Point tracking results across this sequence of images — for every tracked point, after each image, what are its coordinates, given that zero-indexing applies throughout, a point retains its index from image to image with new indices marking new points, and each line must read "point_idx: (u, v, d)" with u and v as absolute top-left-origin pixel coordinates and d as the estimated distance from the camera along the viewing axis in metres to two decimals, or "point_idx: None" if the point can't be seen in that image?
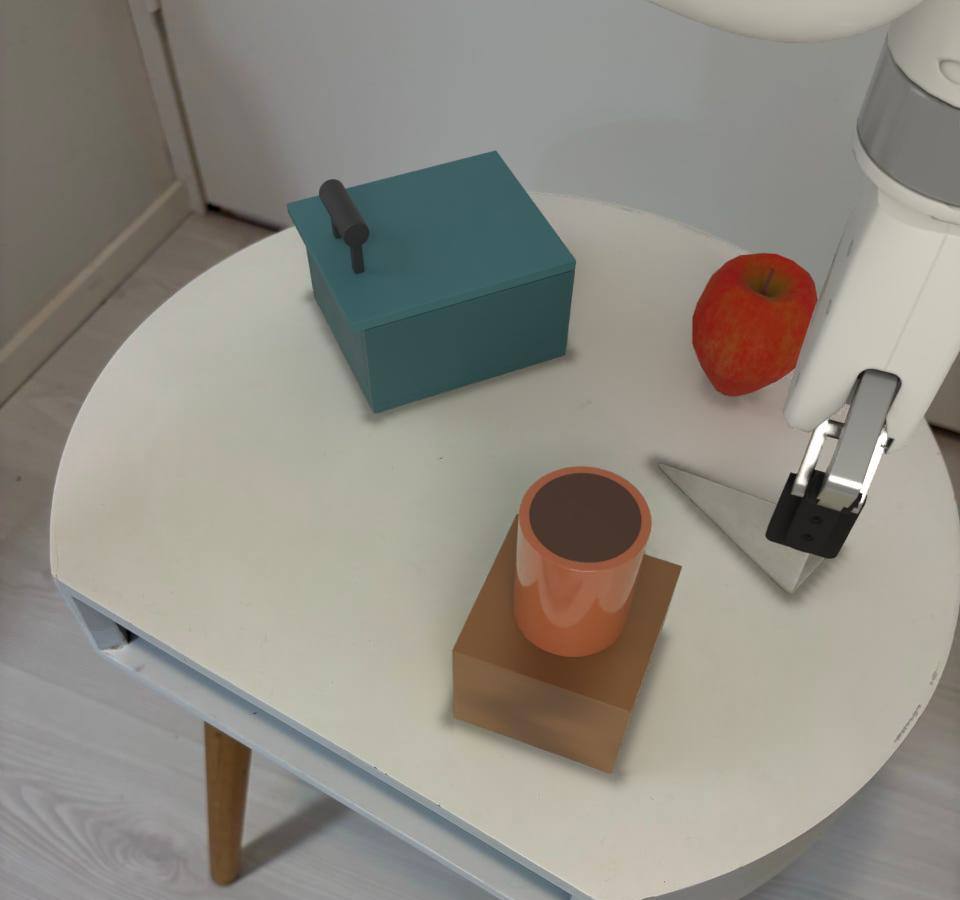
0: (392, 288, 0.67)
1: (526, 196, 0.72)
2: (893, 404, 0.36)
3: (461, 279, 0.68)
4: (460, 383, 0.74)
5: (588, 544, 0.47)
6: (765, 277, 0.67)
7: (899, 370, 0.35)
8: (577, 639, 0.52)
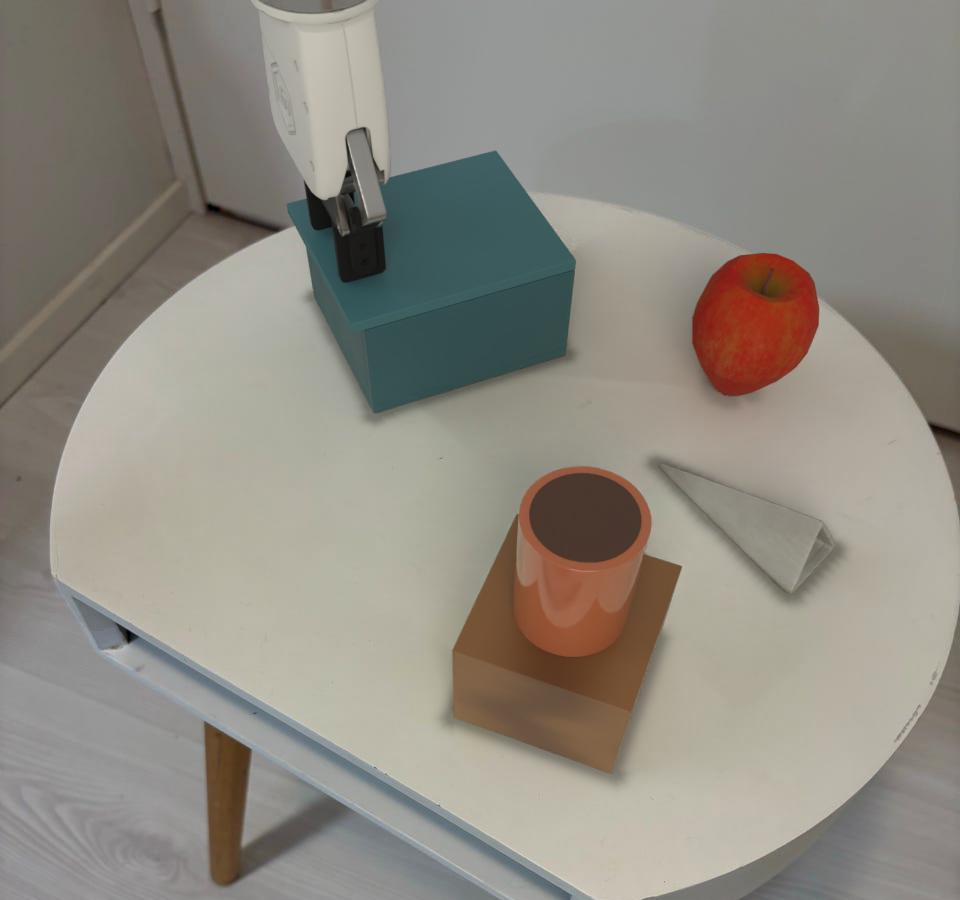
0: (392, 288, 0.67)
1: (526, 196, 0.72)
2: (372, 147, 0.58)
3: (461, 279, 0.68)
4: (460, 383, 0.74)
5: (588, 544, 0.47)
6: (765, 277, 0.67)
7: (364, 123, 0.56)
8: (577, 639, 0.52)
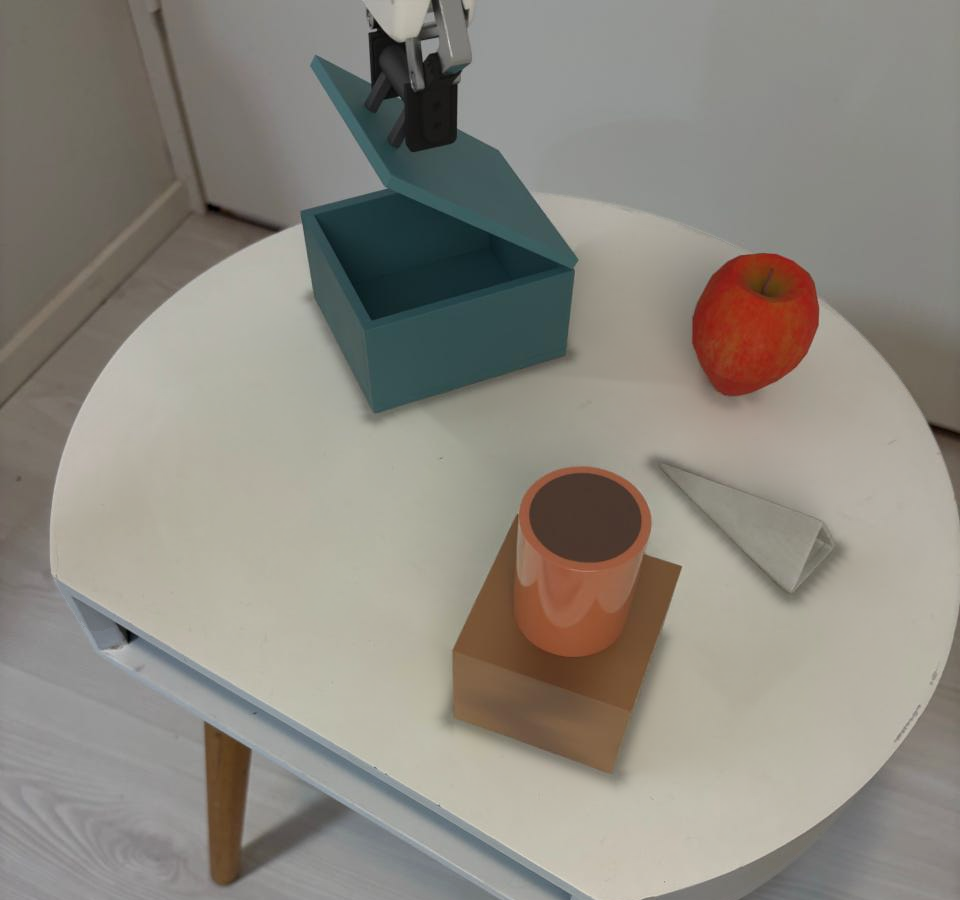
0: (426, 176, 0.61)
1: (530, 194, 0.72)
2: None
3: (487, 210, 0.64)
4: (460, 383, 0.74)
5: (588, 544, 0.47)
6: (765, 277, 0.67)
7: None
8: (577, 639, 0.52)
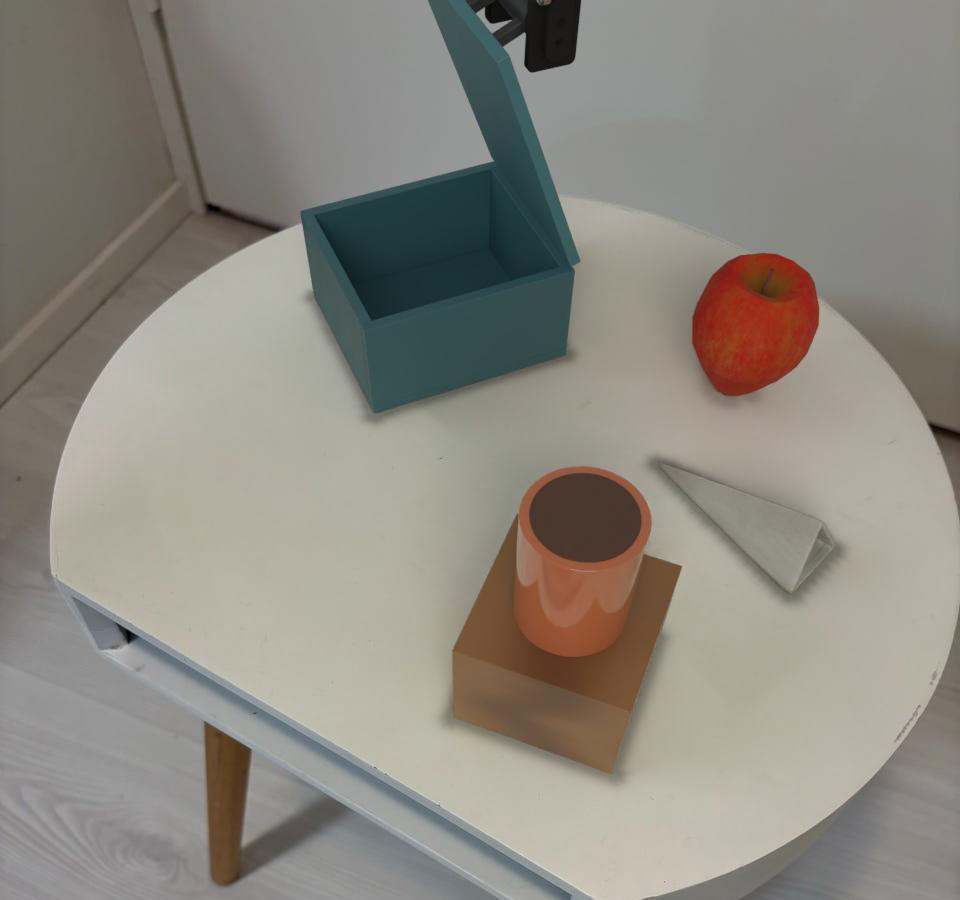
0: None
1: None
2: None
3: None
4: (460, 383, 0.74)
5: (588, 544, 0.47)
6: (765, 277, 0.67)
7: None
8: (577, 639, 0.52)
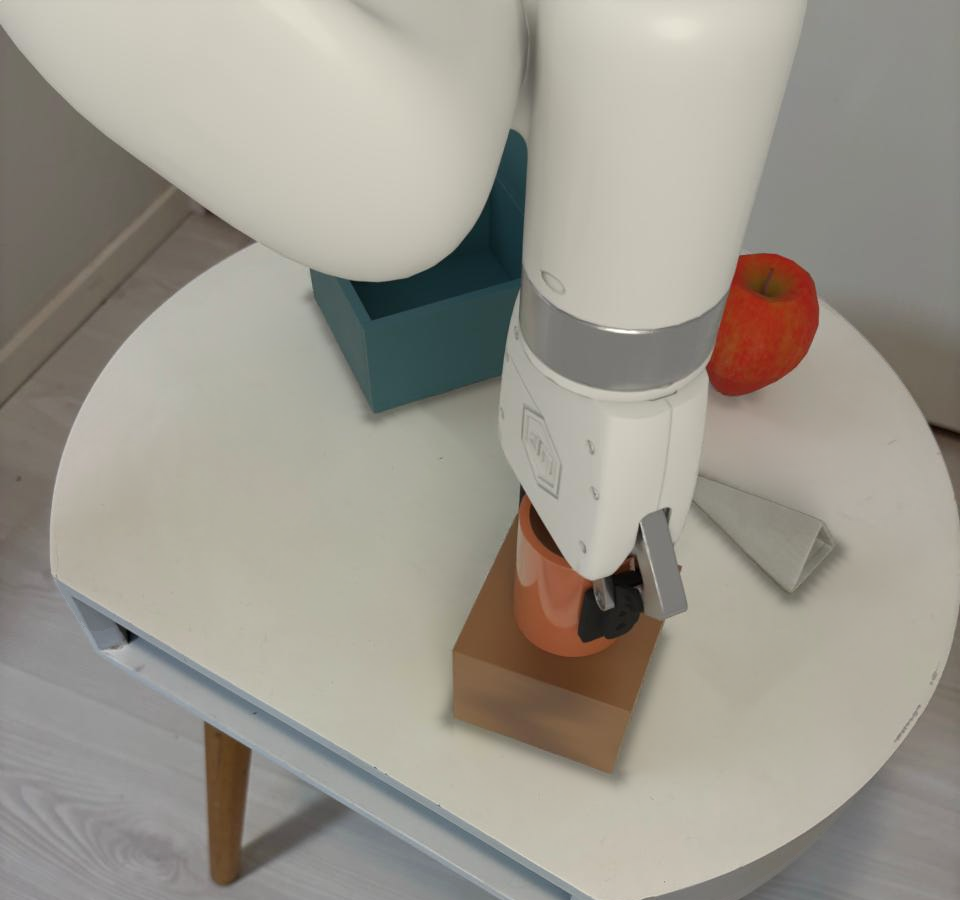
0: None
1: None
2: (669, 524, 0.42)
3: None
4: (460, 383, 0.74)
5: None
6: (765, 277, 0.67)
7: (667, 503, 0.40)
8: (577, 639, 0.52)
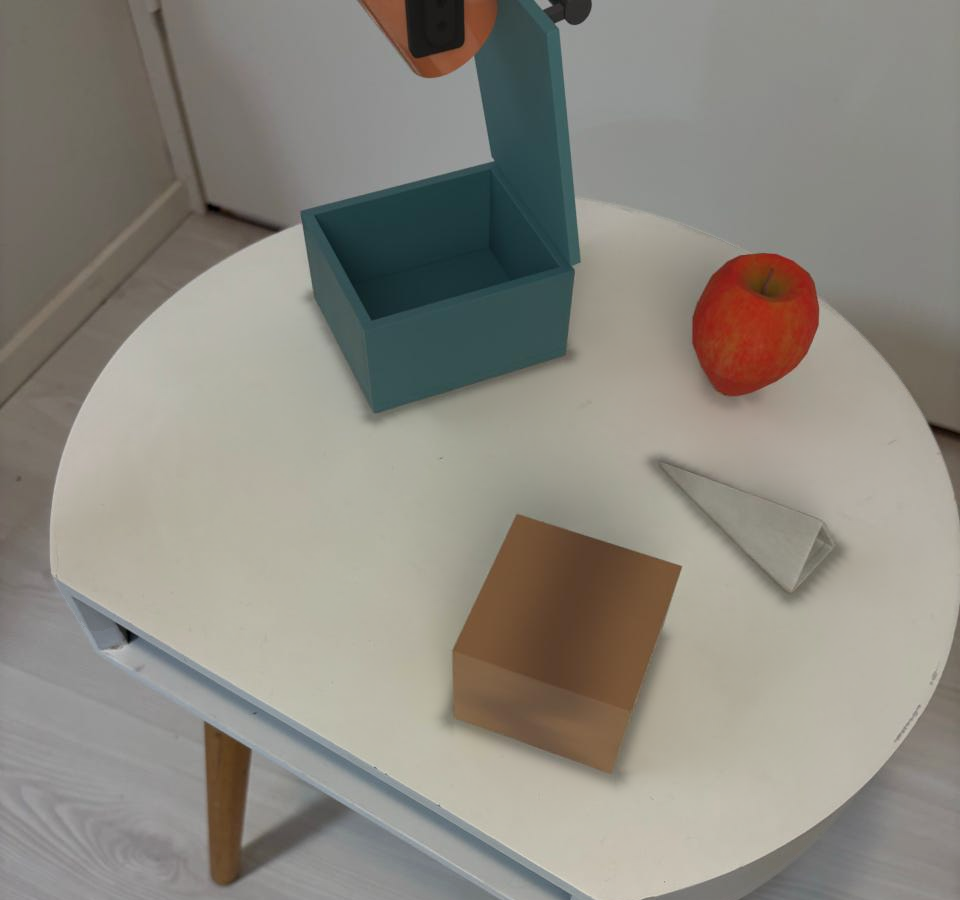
0: None
1: None
2: None
3: None
4: (460, 383, 0.74)
5: None
6: (765, 277, 0.67)
7: None
8: None
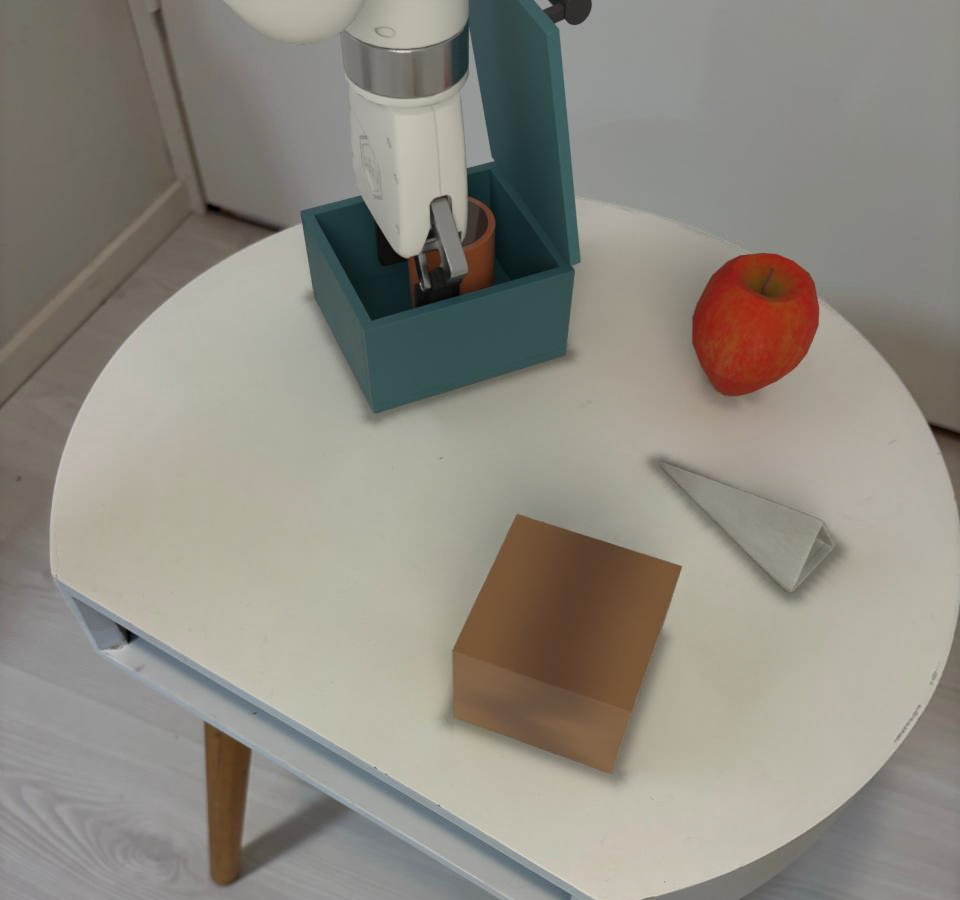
0: None
1: None
2: (453, 212, 0.64)
3: None
4: (460, 383, 0.74)
5: None
6: (765, 277, 0.67)
7: (447, 191, 0.62)
8: None
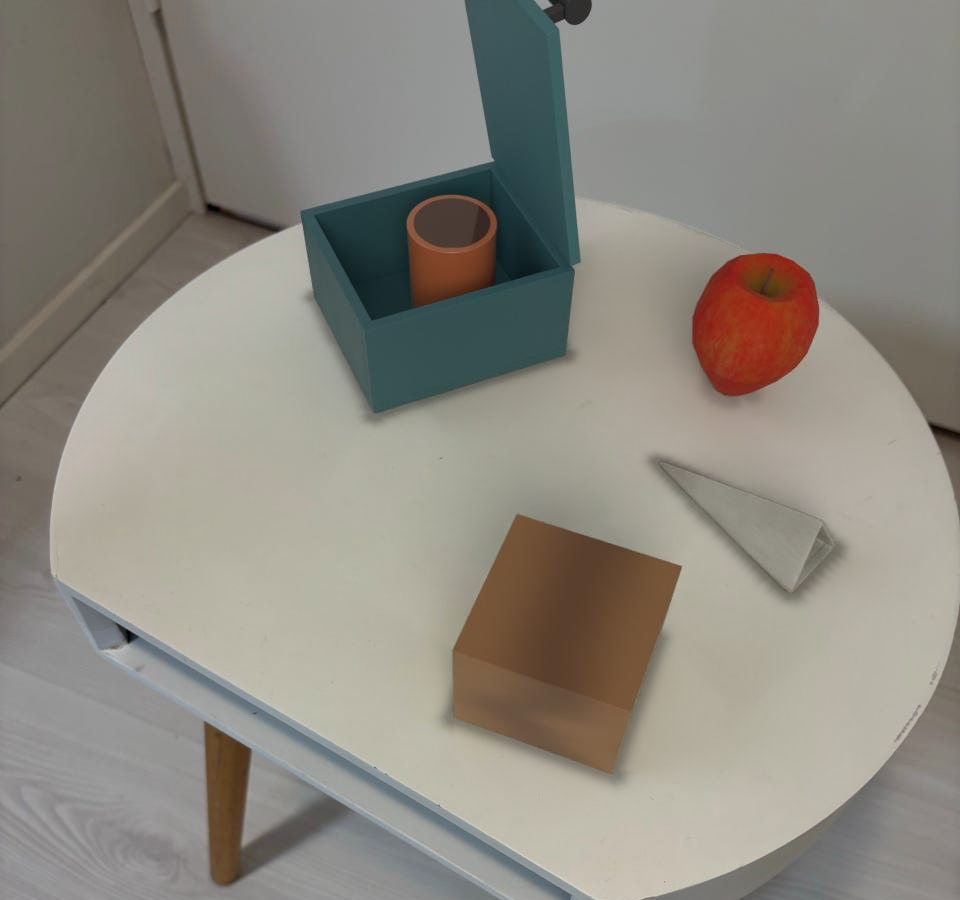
0: None
1: None
2: None
3: None
4: (460, 383, 0.74)
5: (447, 237, 0.70)
6: (765, 277, 0.67)
7: None
8: None
